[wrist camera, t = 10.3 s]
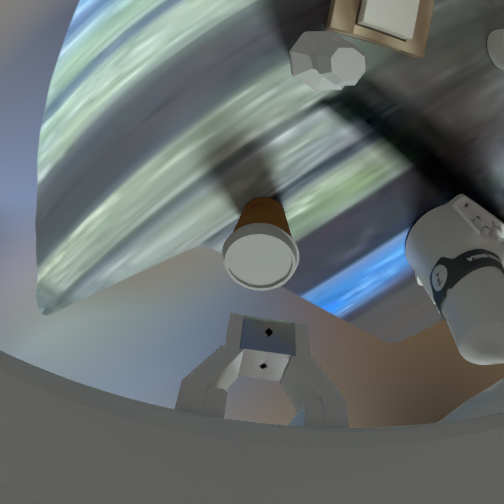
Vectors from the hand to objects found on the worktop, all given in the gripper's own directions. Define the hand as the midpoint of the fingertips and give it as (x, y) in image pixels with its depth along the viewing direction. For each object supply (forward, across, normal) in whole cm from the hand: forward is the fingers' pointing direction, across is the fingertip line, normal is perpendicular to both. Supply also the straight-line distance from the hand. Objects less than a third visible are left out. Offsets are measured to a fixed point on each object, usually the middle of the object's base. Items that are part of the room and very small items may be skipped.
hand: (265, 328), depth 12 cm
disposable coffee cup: (+34, +1, -14) cm, 37 cm away
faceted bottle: (+34, +3, +10) cm, 36 cm away
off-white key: (+32, +10, +19) cm, 38 cm away
